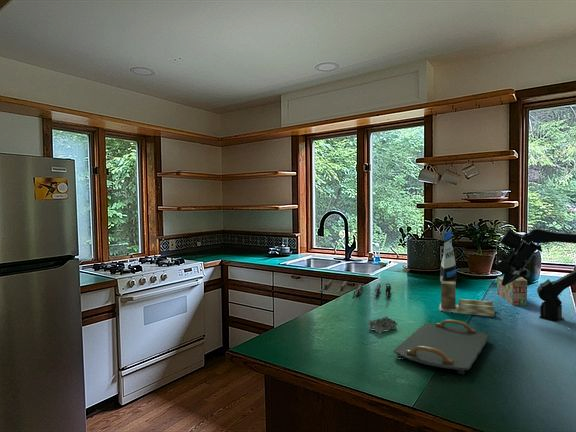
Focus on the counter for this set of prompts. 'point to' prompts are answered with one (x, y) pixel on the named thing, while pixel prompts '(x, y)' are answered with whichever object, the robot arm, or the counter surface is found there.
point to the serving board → (444, 345)
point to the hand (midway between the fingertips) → (502, 285)
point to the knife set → (358, 291)
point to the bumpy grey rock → (382, 324)
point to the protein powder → (448, 260)
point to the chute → (472, 307)
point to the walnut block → (448, 294)
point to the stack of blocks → (513, 291)
